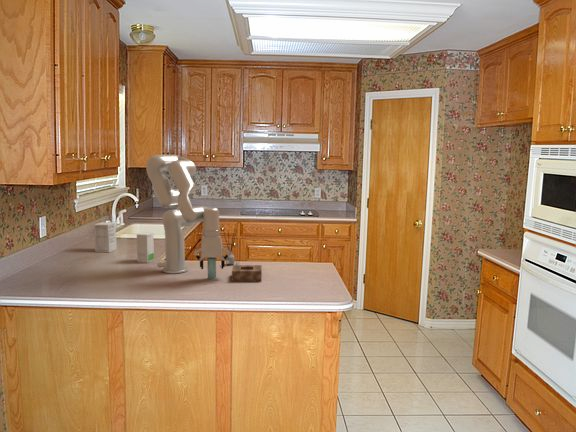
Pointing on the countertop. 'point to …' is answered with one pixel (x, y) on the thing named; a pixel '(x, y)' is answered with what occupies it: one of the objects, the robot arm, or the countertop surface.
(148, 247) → the skincare box
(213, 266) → the peg
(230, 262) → the reed diffuser
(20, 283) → the countertop surface
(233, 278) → the socket block
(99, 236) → the supplement box
